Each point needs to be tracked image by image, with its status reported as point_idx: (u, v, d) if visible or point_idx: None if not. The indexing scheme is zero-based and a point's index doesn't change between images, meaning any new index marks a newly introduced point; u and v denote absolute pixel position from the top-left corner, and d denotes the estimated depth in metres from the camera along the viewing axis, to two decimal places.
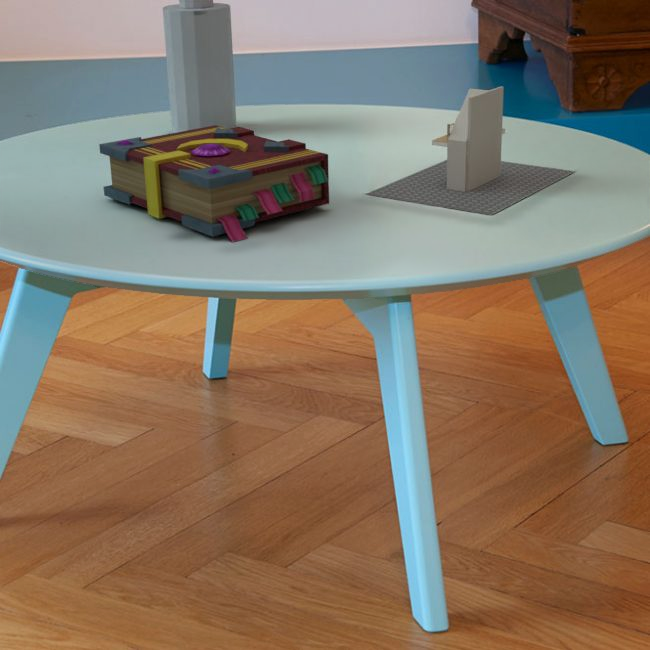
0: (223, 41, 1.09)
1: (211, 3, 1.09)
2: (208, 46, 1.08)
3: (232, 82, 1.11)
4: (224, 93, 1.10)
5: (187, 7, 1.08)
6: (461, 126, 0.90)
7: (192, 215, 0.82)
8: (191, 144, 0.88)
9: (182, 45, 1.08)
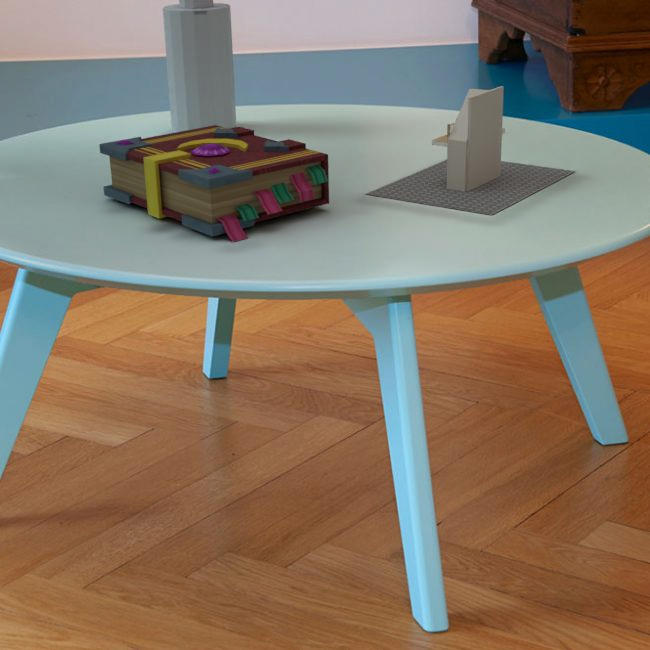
0: (223, 41, 1.09)
1: (211, 3, 1.09)
2: (208, 46, 1.08)
3: (232, 82, 1.11)
4: (224, 93, 1.10)
5: (187, 7, 1.08)
6: (461, 126, 0.90)
7: (192, 215, 0.82)
8: (191, 144, 0.88)
9: (182, 45, 1.08)
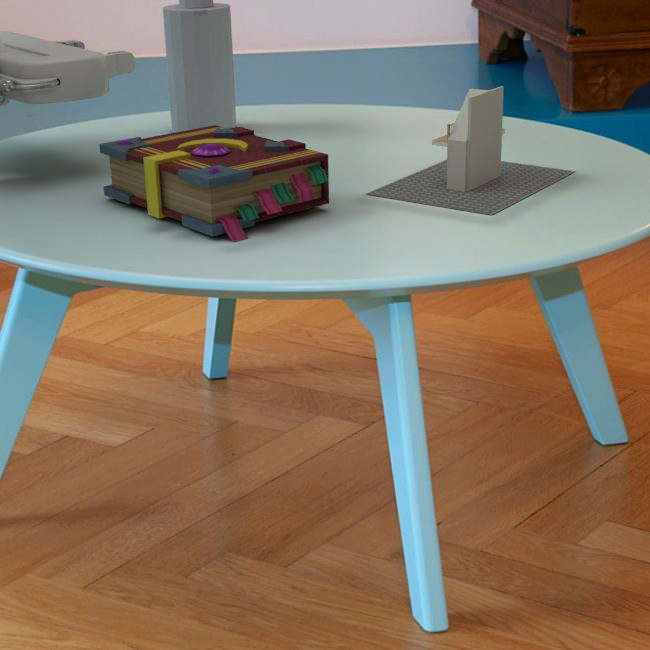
0: (223, 41, 1.09)
1: (211, 3, 1.09)
2: (208, 46, 1.08)
3: (232, 82, 1.11)
4: (224, 93, 1.10)
5: (187, 7, 1.08)
6: (461, 126, 0.90)
7: (192, 215, 0.82)
8: (191, 144, 0.88)
9: (182, 45, 1.08)
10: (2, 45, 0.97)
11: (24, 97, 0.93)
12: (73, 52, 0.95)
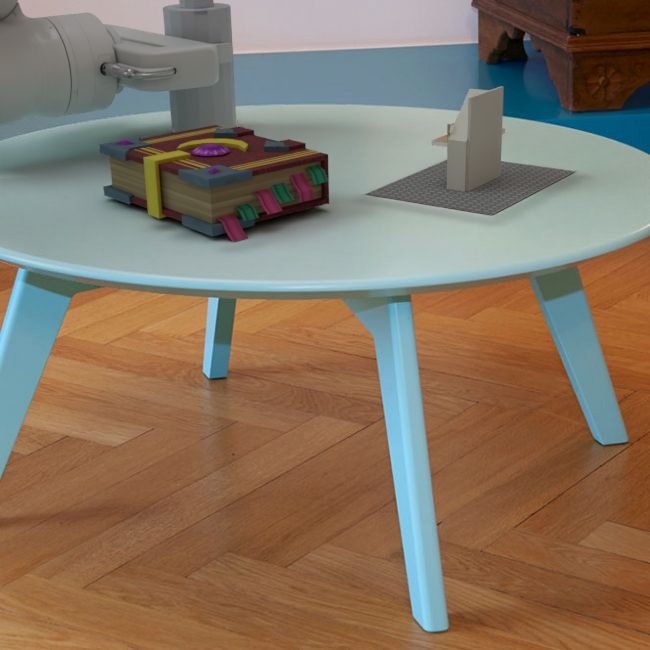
0: (223, 41, 1.09)
1: (211, 3, 1.09)
2: None
3: (232, 82, 1.11)
4: (224, 93, 1.10)
5: (187, 7, 1.08)
6: (461, 126, 0.90)
7: (192, 215, 0.82)
8: (191, 144, 0.88)
9: None
10: (118, 37, 1.03)
11: (142, 85, 0.99)
12: (186, 43, 1.01)
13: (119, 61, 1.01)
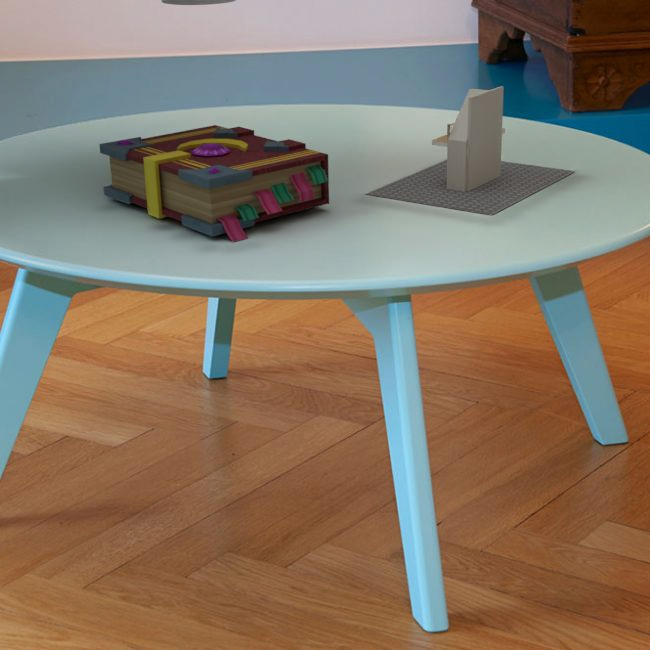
0: None
1: None
2: None
3: None
4: None
5: None
6: (461, 126, 0.90)
7: (192, 215, 0.82)
8: (191, 144, 0.88)
9: None
10: None
11: None
12: None
13: None
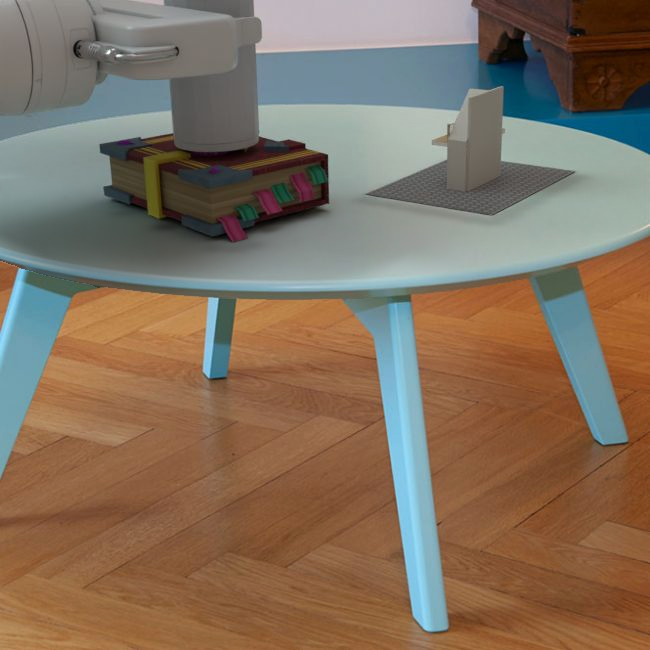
0: None
1: None
2: None
3: (254, 79, 0.84)
4: (244, 94, 0.83)
5: None
6: (461, 126, 0.90)
7: (192, 215, 0.82)
8: None
9: None
10: (98, 6, 0.75)
11: (132, 71, 0.71)
12: (192, 14, 0.73)
13: (100, 38, 0.73)
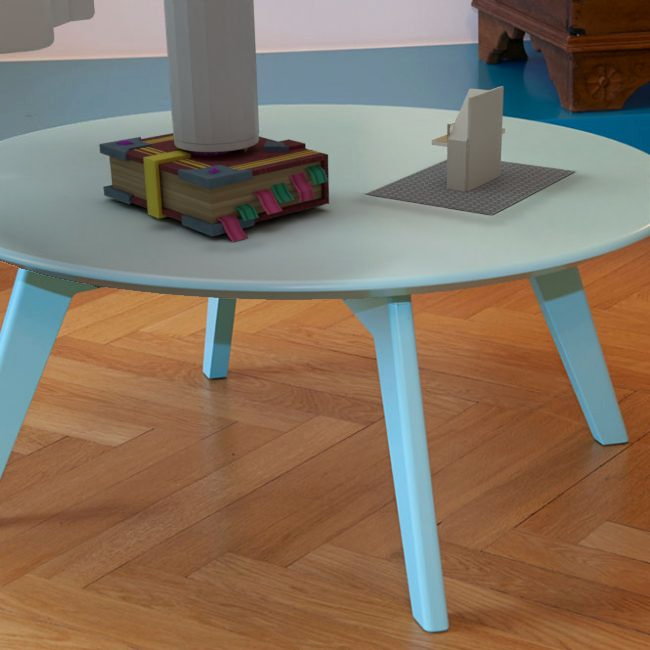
0: (243, 24, 0.81)
1: None
2: (223, 31, 0.80)
3: (254, 79, 0.84)
4: (244, 94, 0.83)
5: None
6: (461, 126, 0.90)
7: (192, 215, 0.82)
8: None
9: (189, 29, 0.80)
10: None
11: None
12: None
13: None
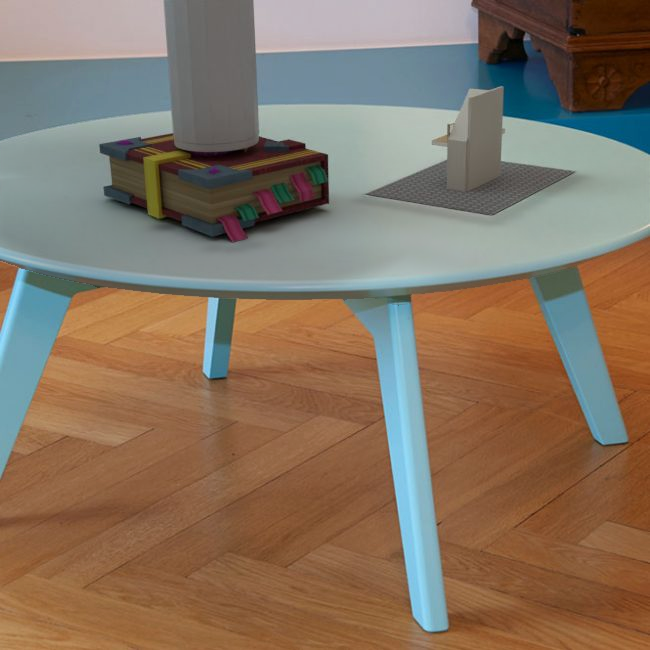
0: (243, 24, 0.81)
1: None
2: (223, 31, 0.80)
3: (254, 79, 0.84)
4: (244, 94, 0.83)
5: None
6: (461, 126, 0.90)
7: (192, 215, 0.82)
8: None
9: (189, 29, 0.80)
10: None
11: None
12: None
13: None
